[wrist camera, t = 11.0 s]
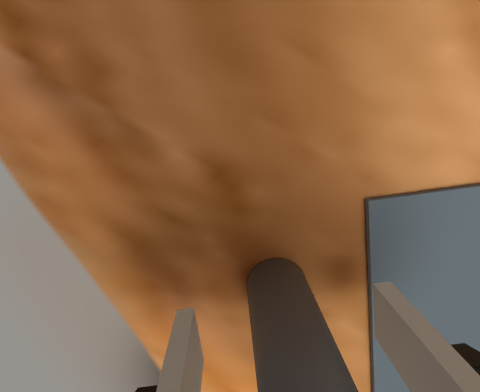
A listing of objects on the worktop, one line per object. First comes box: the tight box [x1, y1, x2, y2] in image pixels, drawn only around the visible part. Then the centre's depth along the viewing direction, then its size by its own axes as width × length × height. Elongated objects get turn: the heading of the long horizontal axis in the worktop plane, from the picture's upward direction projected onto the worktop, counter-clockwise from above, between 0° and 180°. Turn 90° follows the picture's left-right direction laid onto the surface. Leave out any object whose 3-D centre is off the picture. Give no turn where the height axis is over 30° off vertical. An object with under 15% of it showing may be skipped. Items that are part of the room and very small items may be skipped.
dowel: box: [247, 258, 358, 392], centre depth 11 cm, size 3×3×14 cm
